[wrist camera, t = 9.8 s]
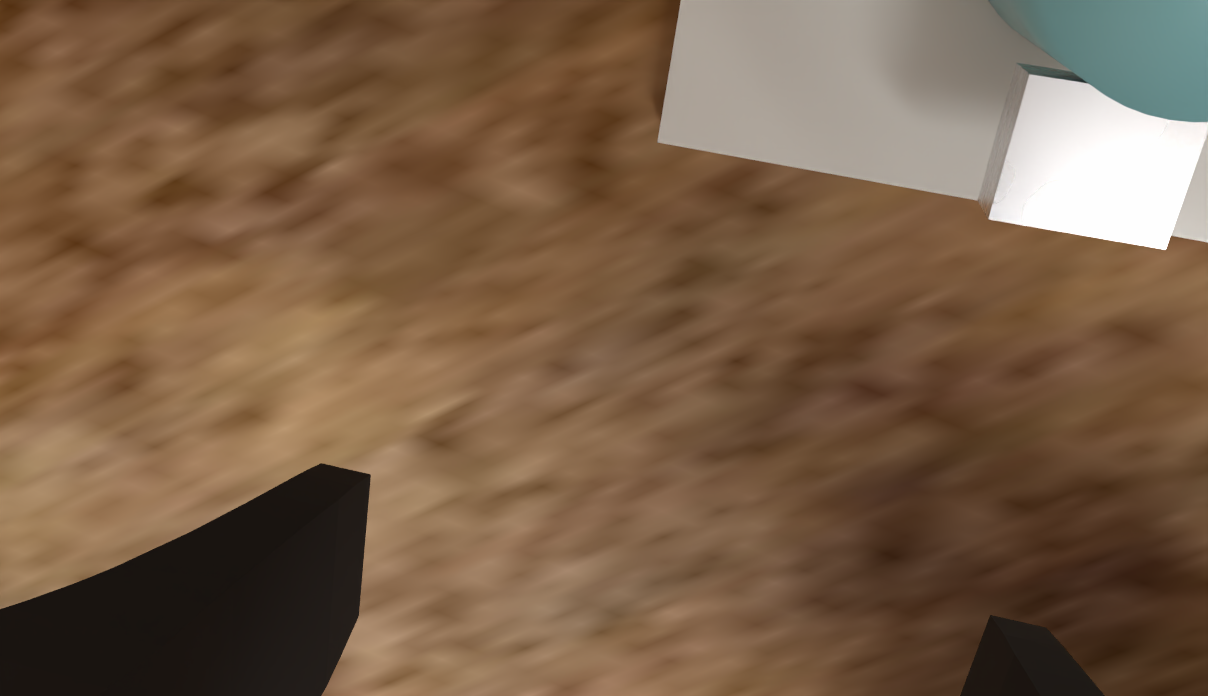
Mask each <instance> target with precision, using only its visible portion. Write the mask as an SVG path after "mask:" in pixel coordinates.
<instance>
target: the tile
mask: <svg viewBox="0 0 1208 696" xmlns="http://www.w3.org/2000/svg"><path fill="white" fill-rule="evenodd" d="M1016 63H1022V64H1029V65H1035V66H1041V67H1048V68H1054V69H1060V70H1067V71H1070V70H1069V69H1068V68H1066V67H1065V66H1063V65H1062V64H1061V63H1059V62H1058V61H1056V60H1055V59H1054V58H1052V57H1051V56H1049V55H1048V54H1047V53H1045V52H1044V51H1043V50H1041V49H1040V48H1038V47H1037V46H1036V45H1034V44H1033V43H1031V42H1030V41H1029V40H1027V39H1026V38H1024V37H1023V36H1022V35H1020V34H1019V33H1018V32H1016V31H1015V30H1014V29H1012V28H1011V27H1010V26H1009V25H1008V24H1007V23H1006V22H1005V21H1004V20H1003V19H1002V18H1001V17H1000V16H999V15H998V13H997V12H996V11H995V9H994V8H993V6H992V5H991V4H990V2H989V1H988V0H681V3H680V9H679V15H678V21H677V27H676V33H675V39H674V45H673V51H672V57H671V63H670V69H669V75H668V81H667V87H666V93H665V99H664V105H663V111H662V117H661V123H660V129H659V135H658V141H657V142H658V143H663V144H669V145H674V146H680V147H685V148H691V149H696V150H702V151H707V152H713V153H718V154H724V155H729V156H735V157H740V158H746V159H751V160H757V161H762V162H768V163H773V164H779V165H784V166H790V167H795V168H801V169H807V170H812V171H818V172H823V173H829V174H834V175H840V176H845V177H851V178H856V179H862V180H867V181H873V182H878V183H884V184H889V185H895V186H900V187H906V188H911V189H917V190H922V191H928V192H933V193H939V194H944V195H950V196H955V197H961V198H966V199H972V200H977V201H978V196H979V193H980V189H981V185H982V182H983V178H984V175H985V171H986V168H987V164H988V160H989V157H990V153H991V150H992V146H993V142H994V139H995V135H996V132H997V128H998V125H999V121H1000V117H1001V114H1002V110H1003V107H1004V103H1005V100H1006V96H1007V92H1008V89H1009V85H1010V82H1011V78H1012V74H1013V71H1014V67H1015V64H1016ZM1171 236H1175V237H1181V238H1186V239H1192V240H1198V241H1203V242H1208V133H1207V136H1206V139H1205V142H1204V144H1203V147H1202V150H1201V153H1200V156H1199V158H1198V161H1197V164H1196V167H1195V170H1194V172H1193V175H1192V178H1191V181H1190V184H1189V186H1188V189H1187V192H1186V195H1185V198H1184V200H1183V203H1182V206H1181V209H1180V211H1179V214H1178V217H1177V220H1176V223H1175V225H1174V228H1173V231H1172V234H1171Z"/></svg>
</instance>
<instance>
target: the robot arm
mask: <svg viewBox="0 0 1208 696" xmlns="http://www.w3.org/2000/svg"><path fill="white" fill-rule="evenodd" d="M370 477H371V475H370V474H366V473H361V472H357V471H353V470H348V469H344V468H339V467H335V466H331V465H326V464H322V463H321V464H319V465H317V466H315V467H312V468H310V469H308V470H306V471H304V472H303V473H301V474H299V475H297V476H295V477H293V478H291V479H289V480H288V481H286V482H284V483H282V484H280V485H278V486H276V487H275V488H273V489H271V490H269V491H267V492H265V493H264V494H262V495H260V496H258V497H256V498H254V499H253V500H251V501H249V502H247V503H245V504H243V505H241V506H239V507H238V508H236V509H234V510H232V511H230V512H228V513H226V514H224V515H222V516H220V517H218V518H217V519H215V520H213V521H211V522H209V523H207V524H205V525H203V526H201V527H199V528H197V529H195V530H193V531H191V532H189V533H187V534H185V535H183V536H181V537H179V538H177V539H174V540H172V541H170V542H168V543H166V544H164V545H162V546H159V547H157V548H155V549H153V550H151V551H149V552H146V553H144V554H142V555H140V556H138V557H136V558H133V559H131V560H129V561H127V562H125V563H123V564H121V565H118V566H116V567H114V568H111V569H109V570H107V571H104V572H102V573H100V574H97V575H95V576H92V577H90V578H87V579H85V580H82V581H79V582H77V583H74V584H72V585H69V586H66V587H64V588H61V589H58V590H55V591H52V592H50V593H47V594H44V595H41V596H39V597H36V598H33V599H30V600H27V601H24V602H21V603H18V604H15V605H12V606H9V607H6V608H3V609H0V696H321V695H322V693H323V692H324V690H325V688H326V686H327V684H328V682H329V680H330V678H331V676H332V674H333V671H334V669H335V667H336V665H337V663H338V661H339V659H340V657H341V654H342V652H343V650H344V648H345V646H346V643H347V641H348V639H349V637H350V634H351V632H352V630H353V628H354V625H355V623H356V621H357V619H358V616H359V606H360V594H361V582H362V571H363V559H364V547H365V535H366V524H367V512H368V500H369V489H370ZM960 696H1104V694H1103V693H1102V692H1101V691H1100V690H1099V689H1098V687H1097V686H1096V685H1095V684H1094V683H1093V681H1092V680H1091V679H1090V678H1089V677H1088V675H1087V674H1086V673H1085V672H1084V671H1083V669H1082V668H1081V667H1080V666H1079V665H1078V663H1077V662H1076V661H1075V660H1074V659H1073V658H1072V656H1071V655H1070V654H1069V653H1068V652H1067V651H1066V649H1065V648H1064V647H1063V646H1062V645H1061V644H1060V643H1059V641H1058V640H1057V639H1056V638H1055V637H1054V636H1053V635H1052V634H1051V633H1050V632H1049V631H1048V629H1047V628H1045V627H1041V626H1036V625H1032V624H1027V623H1023V622H1019V621H1014V620H1010V619H1005V618H1001V617H996V616H992V615H990V618H989V620H988V623H987V626H986V628H985V631H984V634H983V636H982V639H981V642H980V644H979V647H978V650H977V652H976V655H975V658H974V660H973V663H972V666H971V668H970V671H969V674H968V676H967V679H966V682H965V685H964V687H963V690H962V693H961V695H960Z"/></svg>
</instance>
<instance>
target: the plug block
mask: <svg viewBox="0 0 1208 696" xmlns="http://www.w3.org/2000/svg"><path fill="white" fill-rule="evenodd" d="M988 1H989V2H990V4H991V5H992V6H993V8H994V9H995V11H996V12H997V13H998V15H999V16H1000V17H1001V18H1002V19H1003V20H1004V21H1005V22H1006V23H1007V24H1008V25H1009V26H1010V27H1011V28H1012V29H1014V30H1015V31H1016V32H1018V33H1019V34H1020V35H1022V36H1023V37H1024V38H1026V39H1027V40H1029V41H1030V42H1031V43H1033V44H1034V45H1036V46H1037V47H1038V48H1040V49H1041V50H1043V51H1044V52H1045V53H1047V54H1048V55H1049V56H1051V57H1052V58H1054V59H1055V60H1056V61H1058V62H1059V63H1061V64H1062V65H1063V66H1065V67H1066V68H1068V69H1069V70H1070V71H1067V70H1060V69H1054V68H1048V67H1041V66H1035V65H1029V64H1022V63H1016V64H1015V67H1014V71H1013V74H1012V78H1011V82H1010V85H1009V89H1008V92H1007V96H1006V100H1005V103H1004V107H1003V110H1002V114H1001V117H1000V121H999V125H998V128H997V132H996V135H995V139H994V142H993V146H992V150H991V153H990V157H989V160H988V164H987V168H986V171H985V175H984V178H983V182H982V185H981V189H980V193H979V196H978V202H979V204H980V206H981V207H982V209H983V211H984V213H985V215H986V216H987V218H988V219H989V220H995V221H1001V222H1006V223H1012V224H1018V225H1024V226H1030V227H1036V228H1042V229H1047V230H1053V231H1059V232H1065V233H1071V234H1077V235H1083V236H1089V237H1094V238H1100V239H1106V240H1112V241H1118V242H1124V243H1130V244H1135V245H1141V246H1147V247H1153V248H1159V249H1165V250H1166V248H1167V245H1168V242H1169V239H1170V237H1171V234H1172V231H1173V228H1174V225H1175V223H1176V220H1177V217H1178V214H1179V211H1180V209H1181V206H1182V203H1183V200H1184V198H1185V195H1186V192H1187V189H1188V186H1189V184H1190V181H1191V178H1192V175H1193V172H1194V170H1195V167H1196V164H1197V161H1198V158H1199V156H1200V153H1201V150H1202V147H1203V144H1204V142H1205V139H1206V136H1207V133H1208V0H988Z"/></svg>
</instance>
